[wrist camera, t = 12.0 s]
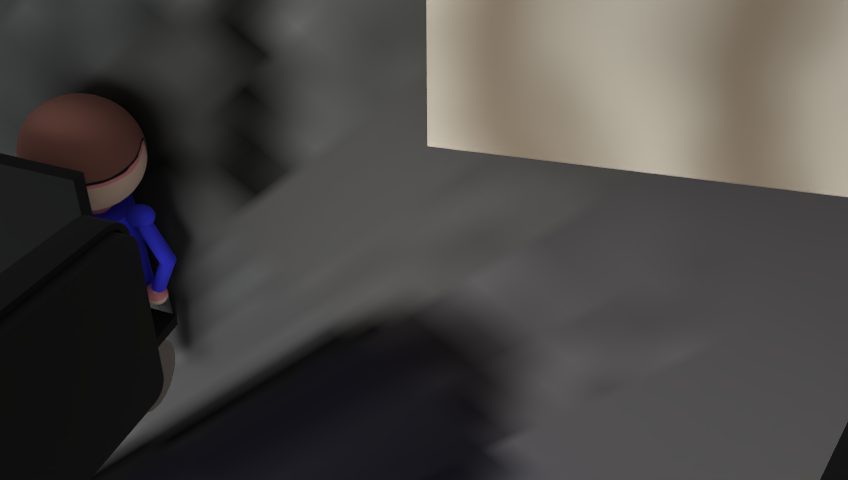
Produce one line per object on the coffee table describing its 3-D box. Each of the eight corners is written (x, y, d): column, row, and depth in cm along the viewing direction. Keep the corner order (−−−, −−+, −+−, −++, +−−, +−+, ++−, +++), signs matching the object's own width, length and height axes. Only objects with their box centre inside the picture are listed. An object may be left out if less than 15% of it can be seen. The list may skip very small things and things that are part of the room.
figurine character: (223, 334, 42) (177, 88, 32) (145, 448, 37) (61, 193, 27) (113, 304, 44) (37, 59, 34) (22, 411, 38) (-102, 154, 28)
